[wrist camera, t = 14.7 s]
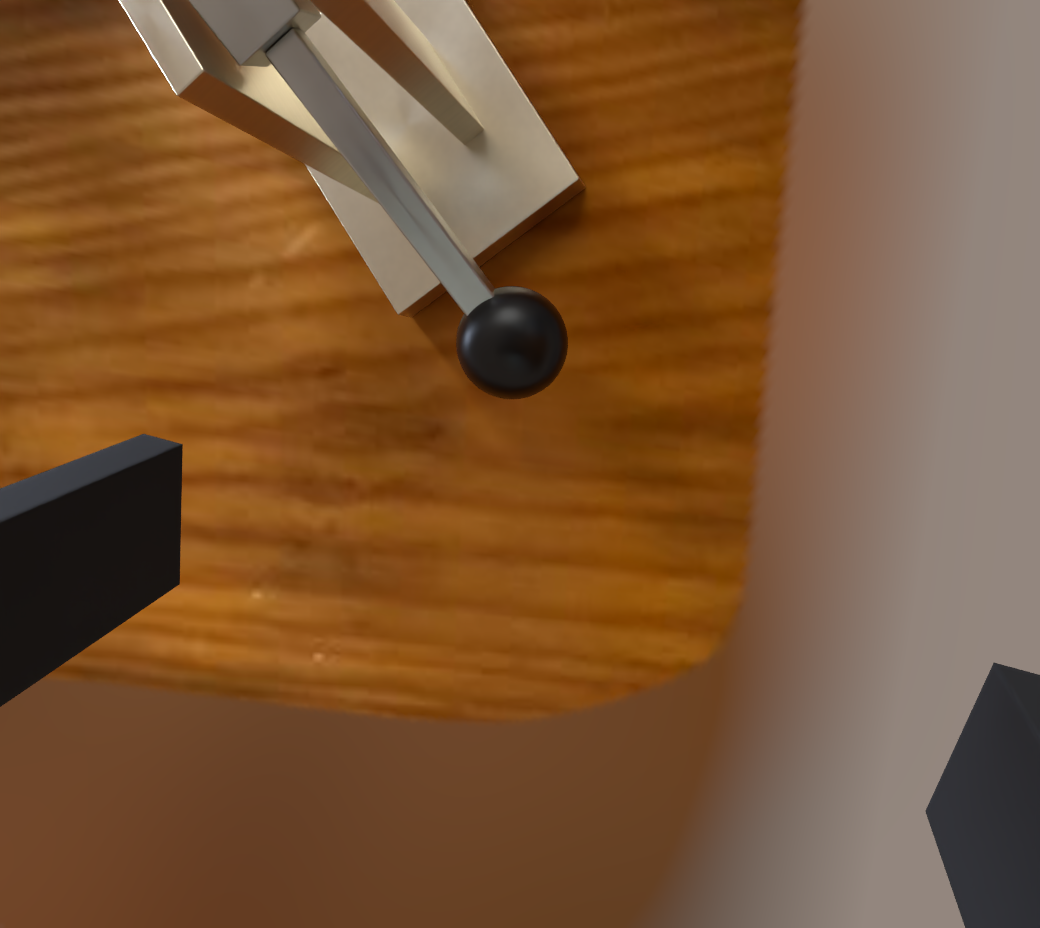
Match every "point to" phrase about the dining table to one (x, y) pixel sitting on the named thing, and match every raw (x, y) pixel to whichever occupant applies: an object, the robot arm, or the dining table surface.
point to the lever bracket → (389, 123)
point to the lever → (401, 200)
